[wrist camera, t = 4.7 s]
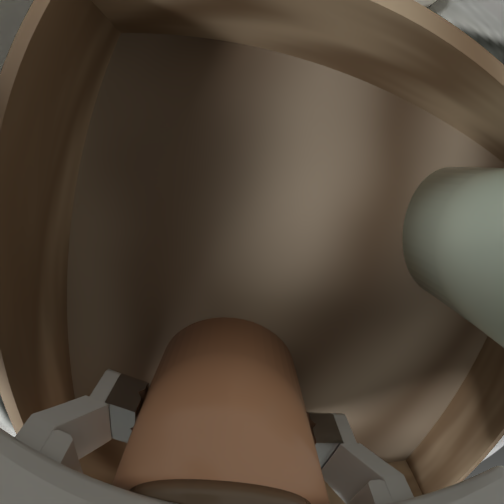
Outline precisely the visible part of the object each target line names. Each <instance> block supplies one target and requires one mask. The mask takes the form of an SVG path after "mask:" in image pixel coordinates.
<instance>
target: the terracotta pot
mask: <svg viewBox="0 0 504 504" xmlns="http://www.w3.org/2000/svg"><path fill="white" fill-rule="evenodd" d="M112 485H113V486H116V487H119V488H122V489H125V490H128V491H131V492H135V493H138V494H141V495H145V496H148V497H152V498H156V499H160V500H164V501H168V502H173V503H177V504H330V503H329V498H328V494H327V490H326V486H325V482H324V478H323V474H322V470H321V466H320V462H319V458H318V454H317V451H316V447H315V443H314V439H313V435H312V431H311V427H310V423H309V419H308V415H307V412H306V408H305V404H304V400H303V396H302V392H301V389H300V385H299V381H298V377H297V373H296V370H295V366H294V362H293V359H292V356H291V353H290V351H289V350H288V348H287V346H286V345H285V344H284V342H283V341H282V340H281V339H280V338H279V337H278V336H277V335H276V334H274V333H273V332H271V331H270V330H269V329H267V328H265V327H263V326H261V325H259V324H256V323H254V322H251V321H247V320H244V319H238V318H227V317H221V318H211V319H205V320H202V321H198V322H195V323H193V324H191V325H189V326H187V327H185V328H184V329H182V330H181V331H179V332H178V333H177V334H176V335H175V336H174V337H173V338H172V339H171V340H170V342H169V343H168V345H167V347H166V349H165V351H164V353H163V356H162V358H161V360H160V363H159V365H158V367H157V370H156V372H155V375H154V377H153V380H152V382H151V384H150V387H149V389H148V392H147V394H146V397H145V399H144V402H143V404H142V407H141V409H140V412H139V414H138V417H137V419H136V422H135V424H134V427H133V429H132V432H131V435H130V437H129V440H128V443H127V445H126V448H125V450H124V453H123V456H122V459H121V461H120V464H119V467H118V470H117V472H116V475H115V478H114V481H113V483H112Z"/></svg>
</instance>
